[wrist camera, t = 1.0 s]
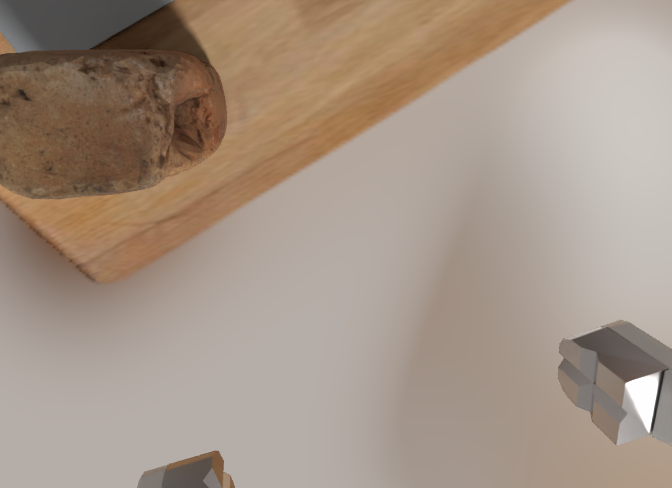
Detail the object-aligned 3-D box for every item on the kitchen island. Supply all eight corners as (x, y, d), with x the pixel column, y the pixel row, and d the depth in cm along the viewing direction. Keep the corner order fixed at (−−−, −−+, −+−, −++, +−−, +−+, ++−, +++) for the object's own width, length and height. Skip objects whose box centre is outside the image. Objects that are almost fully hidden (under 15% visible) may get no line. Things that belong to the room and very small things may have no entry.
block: (111, 141, 37) (-18, 214, 19) (91, 51, 34) (-84, 38, 16) (232, 138, 39) (217, 201, 21) (223, 53, 36) (197, 42, 18)
